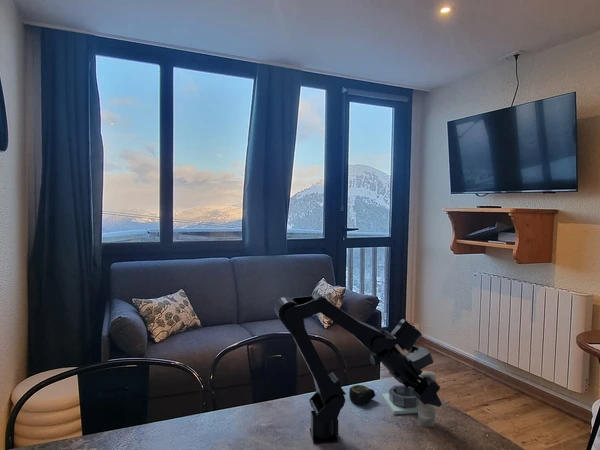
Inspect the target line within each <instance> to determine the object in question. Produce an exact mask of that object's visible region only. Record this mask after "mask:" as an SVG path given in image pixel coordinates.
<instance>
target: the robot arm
mask: <svg viewBox="0 0 600 450" xmlns="http://www.w3.org/2000/svg"><path fill="white" fill-rule="evenodd" d="M274 312H275V314H276V316H277V317H278V319H279V320H280V322H281V323H282V325H283V326H284V327H285V329H286V330H287V331H288V333H289V334H291V337H292V338H293V340H294V342H295V344H296V346H297V348H298V350H299V352H300V354H301V355H302V358H303V360H304V362H305V363H306V365H307V367H308V369H309V371H310V373H311V375H312V377H313V382H314V386H315V390H316V391H315V393H314V394H313V395H312V396H311V397H310V398H309V399H308V401H309V404H310V407H311V409H312V410H311V411H310V428H309V433H310V435H311V436H310V437H311V440H312V443H313V444H326V443H337V442H338V441H339V439H338V436H339V415H340V413H341V410H342V409H343V408H344V406H345V403H346V398H345V395H347V393H346V392H345V390H344V389H343V388H342V384H341V381H340V380H339V379H338V377H337V375H335V373H334V372H333V371H331V372H330V373H328V371H327V370H326V367H325V366H324V363H323V362H322V360H321V358H320V356H319V354H318V352H317V350H316V348H315V346H314V343H313V342H312V340H311V338H310V336H309V334H308V332H307V329H306V325H305V319H308V318H310V317H312V316H315V315H316V314H319V313H320V314H321V315H324V316H325V317H326V318H327V319H329V320H331V321H332V322H334V323H335V324H337V325H338V326H340V327H341V328H343V330H345V331H347V332H349V333H350V334H351V335H352V336H354V338H355V340H357V341H358V342H359V343H360V344H361V345H362V346H364V347H365V348H366V349H367V350H368V351H369V352H370V354H369V355H370V358H369V361H370V363H371V364H372V365H374V367H378V365H380V363H381V364H382V365H383V366H384V367H385V368H386V369H387V370H388V373H389V374H390V375H391V376H392V377H393V378H394V379H395V380H396V381H397V382H398V383H400V384H401V385H405V386H406V387H407V388H408V387H411V388H413V389H414V394H413V395H414V396H415V397H417V398H418V399H419V400H420V401H421V402H422V403H423V404H424V405H426V404H430V405H434V406H435V407H438V408H440V407H441V406H442V405H443V403H442V401H441V399H440V397H439V395H438V394H437V393H438V392H439V391H440V390H441V386H440V385H439V384H438V383H437V381H436V382H435V381H434V380H432V379H431V378H430V377H424V378H421V377H420V376H419V375H421V374H422V372H423V371H424V370H422V369H424V368H427V367H428V366H430V365H432V364H434V359H433V356H432V354H431V352H430V351H429V350H428V349H426V348H425V347H423V346H422V347H421V346H419V345H418V347H417V346H416V345H415V344H416V343H417V342H418V341H419V339H420V338H421V337H422V336H423V333H422V332H421V331H419V329H418V328H416V327H414V326H413V325H412V324H411V323H409V321H408V320H406V319H405V318H402V319H401V320H399V322H398V324H397V325H396V326H395V327H394V329H393V330H391V332H389V331H388V330H386V329H385V330H384V329H383V330H382V329H377V327H375V326H372V325H370V324H369V323H366V322H363V321H359V320H358V319H355V317H353V316H351V315H350V314H348V313H347V312H345V311H344V310H342V309H341V308H339V307H338V306H336V305H335V304H333V303H332V302H331V301H330V300H328V299H327V298H326V297H324V296H323V295H322V294H319V293H316V294H312V295H305V296H296V297H288V296H282V297H280V298H278V300H277V301H276V302H275V304H274ZM396 346H397V347H398V348H397V347H396ZM399 349H400V350H401V351H406V352H407V354H408V355H405V354H403V353H402V352H401V351H400V350H399ZM419 381H420V382H419Z"/></svg>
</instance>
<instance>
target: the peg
mask: <svg viewBox="0 0 600 450" xmlns="http://www.w3.org/2000/svg"><path fill="white" fill-rule="evenodd" d="M422 371H423V372H422V374H421V375H419V376H420V377H421V378H424V377H430V378H431V379H432V380H434V381H435V382H436V383H437V374H436V373H435V372H433V371H430V370H422ZM418 381H419V380H418ZM419 382H420V381H419ZM417 423H418V424H419V425H420V426H422V427H424V428H432V427H434V426H435V424H436V406H434V405H430V404H426V405H424V404H423V403H422V402H421V401H420V400H419V403H418V413H417Z"/></svg>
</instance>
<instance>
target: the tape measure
mask: <svg viewBox="0 0 600 450" xmlns="http://www.w3.org/2000/svg"><path fill="white" fill-rule="evenodd" d="M348 392H349V395H348V396H349V399H350V400H351V401H352V402H353V403H357V404H360V405H363V404H366V402H368V401H371V400H373V399H374V398H375V397H376V393H375V390H374V389H372V388H369V387H367V386H365V385H361V384H355V385H352V386H350V388H349V391H348Z"/></svg>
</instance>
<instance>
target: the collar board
mask: <svg viewBox="0 0 600 450" xmlns="http://www.w3.org/2000/svg"><path fill="white" fill-rule="evenodd" d="M380 397H381V399H382V400H383V401H384V403H385V404H386V405H387V407H388V409H389V410H390V411H391V413H392V414H393V415H405V414H418V406H417V407H415V408H402V407H399V406H396V405H394V404H392V402H391V401H390V400H389V392H387V393H381V395H380ZM404 397H407V396H404Z"/></svg>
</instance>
